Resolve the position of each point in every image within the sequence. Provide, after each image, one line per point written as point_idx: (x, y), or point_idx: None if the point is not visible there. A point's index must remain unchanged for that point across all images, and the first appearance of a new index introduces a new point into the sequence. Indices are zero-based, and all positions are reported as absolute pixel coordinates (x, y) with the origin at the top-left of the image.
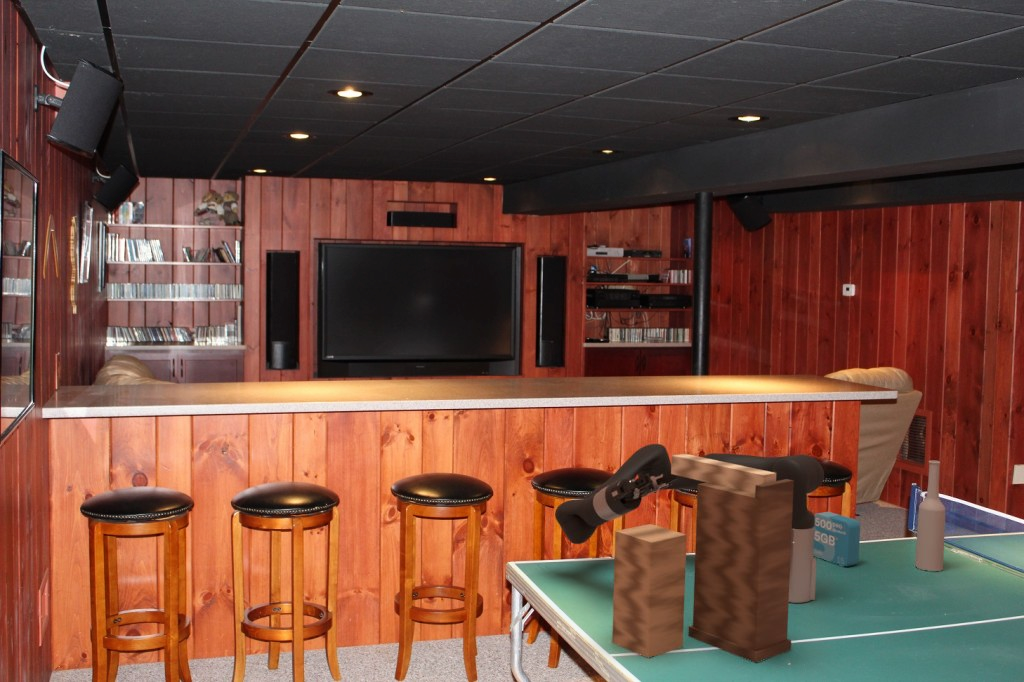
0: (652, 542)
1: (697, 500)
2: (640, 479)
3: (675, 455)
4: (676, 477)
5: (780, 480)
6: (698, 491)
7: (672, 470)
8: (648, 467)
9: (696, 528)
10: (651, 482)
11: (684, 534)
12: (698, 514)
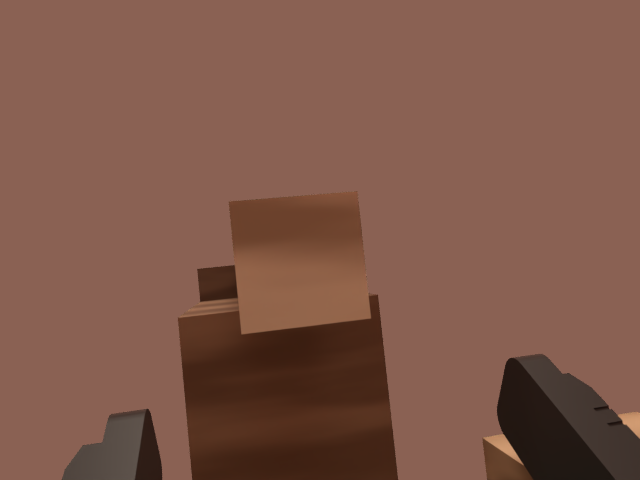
0: (633, 412)
1: (384, 360)
2: (606, 416)
3: (333, 195)
4: (158, 468)
5: (226, 266)
6: (379, 322)
7: (365, 292)
8: None
9: (397, 476)
10: (499, 420)
11: (489, 438)
12: (388, 414)
